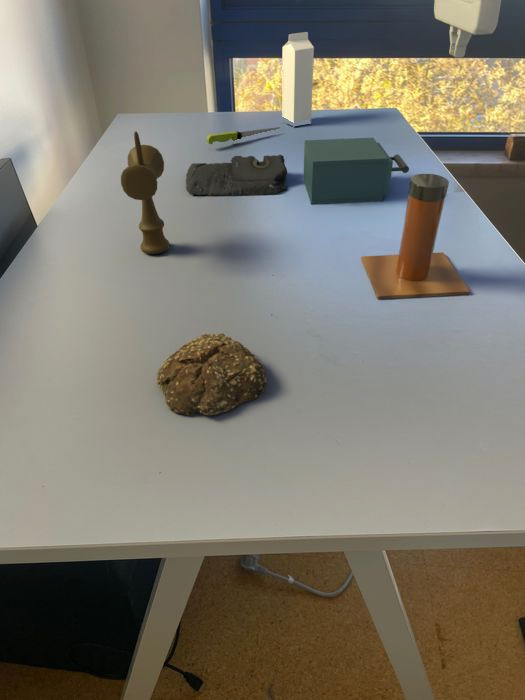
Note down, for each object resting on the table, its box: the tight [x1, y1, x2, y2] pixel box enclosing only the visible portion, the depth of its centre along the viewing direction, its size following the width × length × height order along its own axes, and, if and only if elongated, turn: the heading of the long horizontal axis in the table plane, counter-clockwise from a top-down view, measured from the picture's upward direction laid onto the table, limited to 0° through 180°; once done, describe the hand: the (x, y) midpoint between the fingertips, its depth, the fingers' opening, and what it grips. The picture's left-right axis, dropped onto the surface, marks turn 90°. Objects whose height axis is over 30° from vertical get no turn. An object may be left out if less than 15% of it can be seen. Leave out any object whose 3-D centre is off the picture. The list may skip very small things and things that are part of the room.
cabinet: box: [302, 137, 388, 205], centre depth 106 cm, size 15×13×9 cm
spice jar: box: [396, 173, 450, 281], centre depth 77 cm, size 5×5×15 cm
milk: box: [281, 31, 315, 123], centre depth 139 cm, size 6×6×22 cm
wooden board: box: [360, 252, 471, 300], centre depth 82 cm, size 14×12×1 cm
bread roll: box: [155, 333, 267, 416], centre depth 63 cm, size 13×12×5 cm
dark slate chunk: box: [185, 154, 288, 196], centre depth 112 cm, size 15×22×5 cm
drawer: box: [377, 142, 410, 196], centre depth 106 cm, size 18×11×7 cm, turn 94°
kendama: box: [120, 130, 170, 255], centre depth 84 cm, size 6×10×20 cm, turn 3°
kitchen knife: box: [206, 126, 281, 145], centre depth 134 cm, size 22×1×3 cm, turn 124°
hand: (456, 56), depth 92 cm, fingers closed
